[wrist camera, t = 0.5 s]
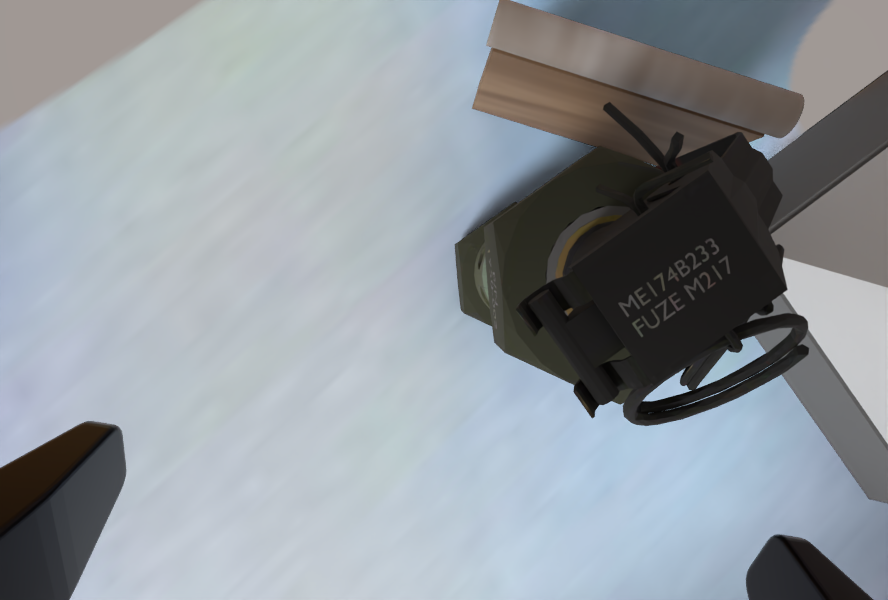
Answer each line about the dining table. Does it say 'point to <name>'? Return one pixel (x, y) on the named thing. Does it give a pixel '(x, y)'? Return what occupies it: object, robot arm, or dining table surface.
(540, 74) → the wooden panel
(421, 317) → the dining table surface
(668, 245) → the grenade
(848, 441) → the alarm clock
